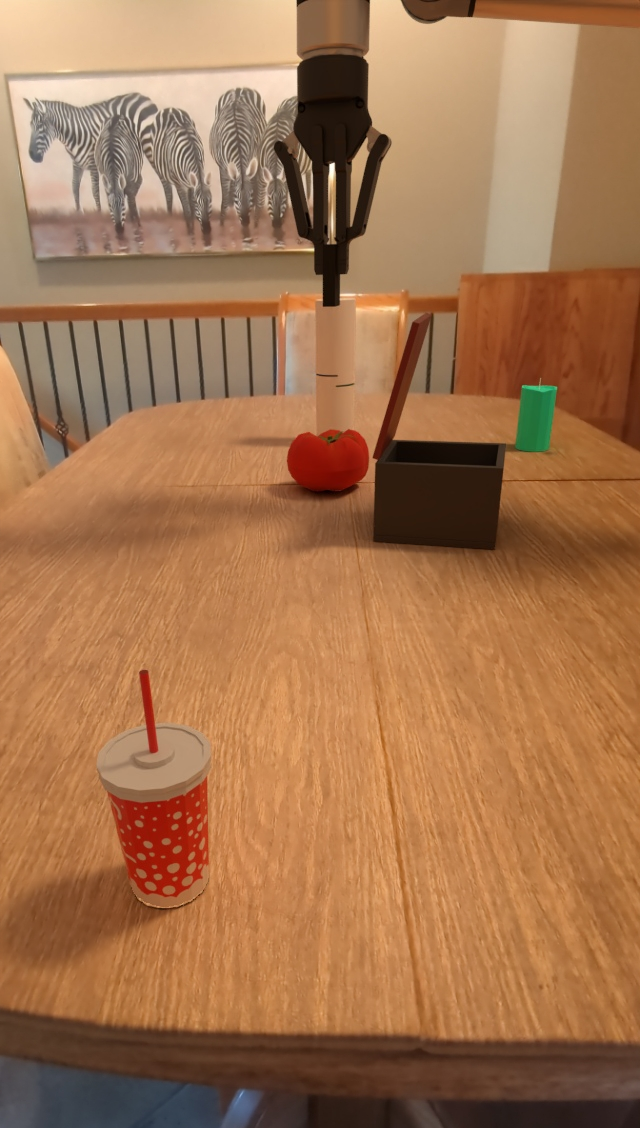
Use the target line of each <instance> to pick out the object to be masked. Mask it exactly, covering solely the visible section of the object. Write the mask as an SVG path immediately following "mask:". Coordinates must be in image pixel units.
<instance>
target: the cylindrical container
mask: <svg viewBox="0 0 640 1128" xmlns="http://www.w3.org/2000/svg"><path fill="white" fill-rule="evenodd" d="M314 302H315V303H314V304H315V305H314V308H315V309H314V310H315V391H316V392H315V405H316V406H315V410H316V411H315V413H316V416H315V417H316V422H315V423H316V425H315V426H316V436H319V435H320V434H321V433H323V432H326V431H328V430H330V429H332V430H340V431H341V432H342V431H343V432H342V433H344V432H345V431H346V430H348V429H350V430H354V431H355V406H356V405H355V404H356V403H355V402H356V401H355V398H356V397H355V393H356V389H355V388H356V326H357V325H356V320H357V319H356V318H357V317H356V316H357V315H356V314H357V299H356V298H354V297H340V305H339V306H336V307H323V298H319V299H314Z"/></svg>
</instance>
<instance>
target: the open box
mask: <svg viewBox="0 0 640 1128" xmlns="http://www.w3.org/2000/svg"><path fill="white" fill-rule="evenodd" d="M506 448H507V443H504V442H479V441H478V442H477V441H476V442H473V441H447V440H446V441H444V440H443V441H441V440H415V439H414V440H411V439H393V440H392V441H391V443H390V444H389V445H388V447H387V448H386V450H385V451H384V453H383V454H382V456H381V457H380V459H379V460H376V462H375V464H374V495H373V496H374V497H373V501H374V502H373V530H372V531H373V532H372V533H373V534H372V541H373V543H374V542H377V543H392V544H405V545H406V544H407V545H419V546H433V547H434V546H435V547H451V548H462V549H463V548H464V549H479V550H493V551H495V550H496V545H497V536H498V535H497V534H498V526H499V515H500V507H501V496H502V487H503V478H504V469H505V459H506V450H507V449H506Z"/></svg>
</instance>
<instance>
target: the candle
mask: <svg viewBox="0 0 640 1128" xmlns="http://www.w3.org/2000/svg"><path fill="white" fill-rule="evenodd" d="M541 381H542V377H540V378H539V384H538V385H526V384H525V385H524V384H523V385H521V391H520V399H519V400H520V401H519V410H518V418H517V427H516V428H517V429H516V436H515V444H514V449H517V450H518V451H523V452H532V453H533V452H535V453H537V452H538V453H539V452H546V451H549V450H550V446H551V445H550V444H551V438H552V430H553V421H554V416H555V415H554V414H555V407H556V400H557V392H558V386H554V385H541Z"/></svg>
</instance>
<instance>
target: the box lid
mask: <svg viewBox="0 0 640 1128" xmlns="http://www.w3.org/2000/svg"><path fill="white" fill-rule="evenodd" d="M432 316H433V315H432V313H429V312H425V313H423V314H422V315H420V316H419V317H418V318H416V319H414V320H413V321H412V322H411V326H410V328H409V332H408V335H407V339H406V342H405V346H404V350H403V352H402V355H401V358H400V363H399V366H398V370H397V373H396V376H395V380H394V383H393V387H392V389H391V393H390V397H389V400H388V403H387V407H386V410H385V413H384V418H383V420H382V424H381V427H380V431H379V434H378V437H377V441H376V444H375V448H374V452H373V454H372V459H373V460H376V461H377V460H379V459H380V457H381V456H382V454H383V453H384V451H385V450H386V448H387V447H388V445H389V444H390V443H391V441H392V440H394V438H395V437H396V434H397V430H398V427H399V424H400V420H401V417H402V414H403V411H404V407H405V404H406V402H407V401H406V400H407V397H408V394H409V390H410V387H411V384H412V381H413V378H414V375H415V371H416V368H417V365H418V361H419V358H420V355H421V352H422V348H423V345H424V341H425V338H426V337H427V336H426V335H427V332H428V328H429V325H430V322H431V319H432Z"/></svg>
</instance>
